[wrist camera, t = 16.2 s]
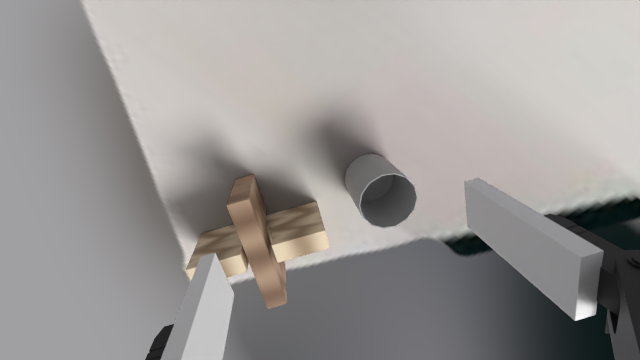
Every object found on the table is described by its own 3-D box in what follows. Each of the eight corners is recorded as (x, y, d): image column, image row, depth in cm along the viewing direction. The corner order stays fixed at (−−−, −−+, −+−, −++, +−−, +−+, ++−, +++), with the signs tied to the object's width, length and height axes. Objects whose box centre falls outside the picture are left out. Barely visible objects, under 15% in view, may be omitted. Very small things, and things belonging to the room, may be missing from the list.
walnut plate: (285, 263, 57) (286, 303, 47) (269, 268, 56) (267, 308, 47) (253, 173, 50) (248, 199, 41) (235, 179, 50) (226, 205, 41)
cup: (359, 208, 55) (376, 238, 45) (335, 171, 52) (348, 195, 42) (400, 183, 54) (426, 207, 45) (379, 144, 51) (402, 162, 42)
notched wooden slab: (208, 248, 53) (193, 287, 44) (201, 233, 52) (185, 270, 43) (320, 216, 54) (329, 247, 45) (316, 201, 53) (325, 230, 44)
